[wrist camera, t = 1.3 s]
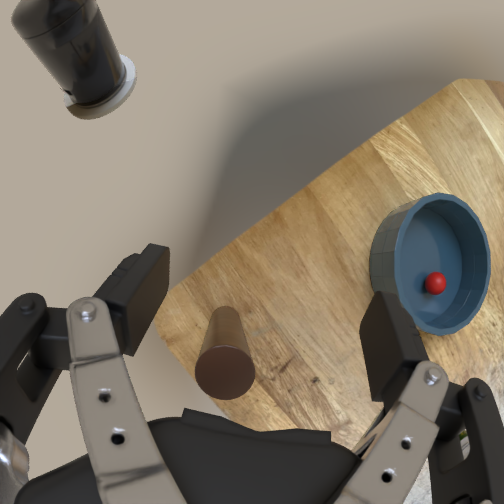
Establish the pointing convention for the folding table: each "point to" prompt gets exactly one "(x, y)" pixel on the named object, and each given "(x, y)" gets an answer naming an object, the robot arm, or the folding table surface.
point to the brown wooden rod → (225, 357)
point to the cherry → (435, 283)
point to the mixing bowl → (433, 261)
